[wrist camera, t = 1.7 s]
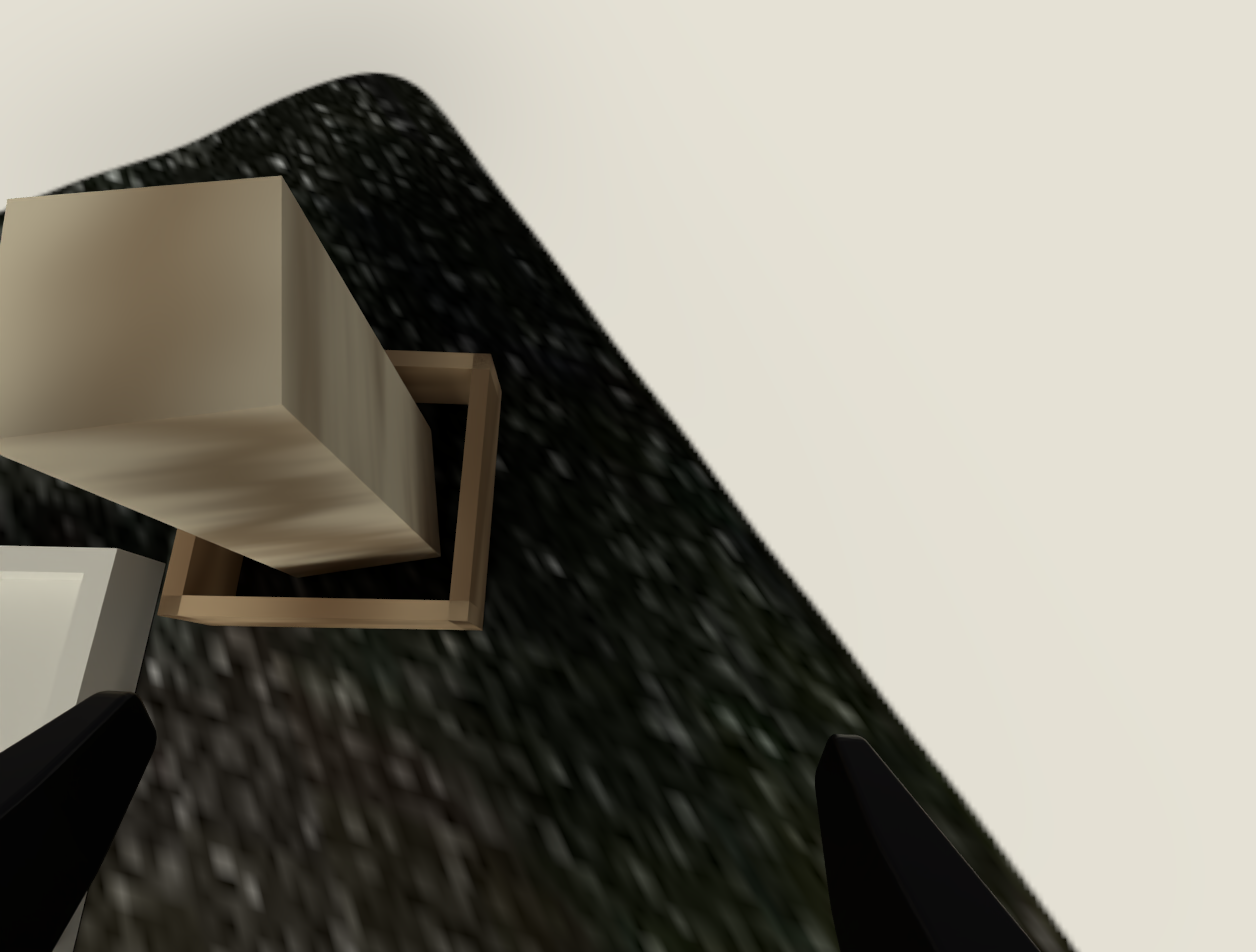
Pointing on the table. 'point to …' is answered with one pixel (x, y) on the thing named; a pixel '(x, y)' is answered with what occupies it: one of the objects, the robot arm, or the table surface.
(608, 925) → the table surface
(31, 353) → the maple block
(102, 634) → the white tray
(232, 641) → the table surface
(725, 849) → the table surface
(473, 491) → the oak collar
